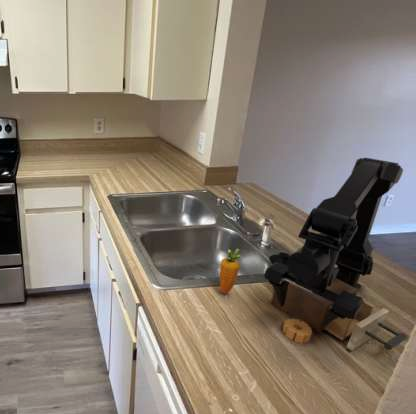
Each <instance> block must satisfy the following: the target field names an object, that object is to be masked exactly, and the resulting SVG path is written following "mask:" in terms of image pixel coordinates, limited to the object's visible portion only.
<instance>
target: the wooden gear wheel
mask: <svg viewBox="0 0 416 414" xmlns="http://www.w3.org/2000/svg"><path fill="white" fill-rule="evenodd" d="M308 326H309V325H308V324H306V323H305V322H303V321H301V322H300V320H298V319H295V318H293V317H292V318H290V317H289V318H287V319H285V320H284V323H283V326H282V332H283V334H285V337H287V338H288V339H289V340H291V341H293V340H294V342H297V343H300V344H301V343H302V344H303V343H305V344H307V342H309V341H310V340H311V337H312V334H313V330H311V327H308Z"/></svg>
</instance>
